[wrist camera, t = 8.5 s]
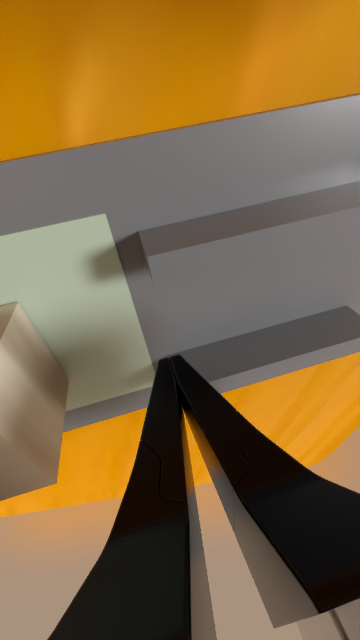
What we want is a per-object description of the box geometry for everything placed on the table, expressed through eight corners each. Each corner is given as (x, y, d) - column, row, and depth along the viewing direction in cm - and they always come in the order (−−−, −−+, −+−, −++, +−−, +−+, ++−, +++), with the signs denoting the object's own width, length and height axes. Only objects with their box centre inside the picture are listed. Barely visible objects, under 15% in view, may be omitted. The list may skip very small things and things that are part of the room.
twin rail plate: (438, 78, 10) (558, 62, 8) (346, 335, 19) (387, 371, 16) (-206, 200, 8) (-360, 239, 5) (25, 429, 17) (11, 488, 14)
